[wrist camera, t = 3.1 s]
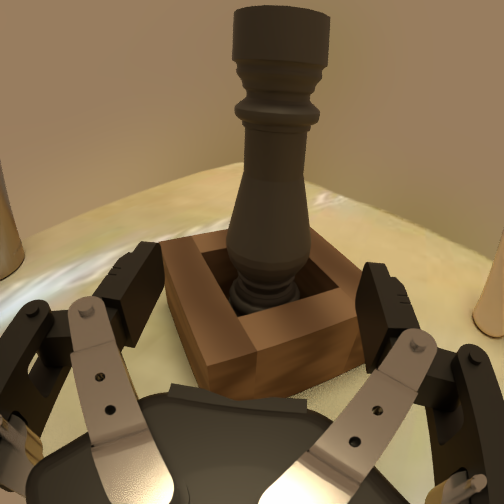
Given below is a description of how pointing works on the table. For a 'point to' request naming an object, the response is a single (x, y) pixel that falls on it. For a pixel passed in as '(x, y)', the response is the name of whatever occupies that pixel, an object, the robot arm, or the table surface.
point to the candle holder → (274, 150)
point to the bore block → (262, 321)
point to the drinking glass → (492, 298)
